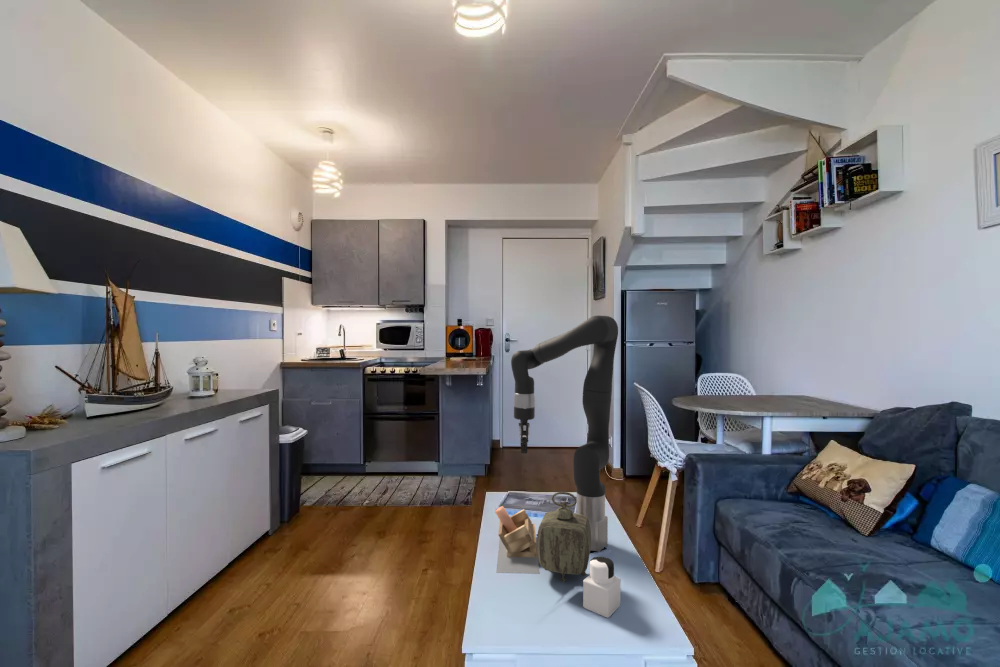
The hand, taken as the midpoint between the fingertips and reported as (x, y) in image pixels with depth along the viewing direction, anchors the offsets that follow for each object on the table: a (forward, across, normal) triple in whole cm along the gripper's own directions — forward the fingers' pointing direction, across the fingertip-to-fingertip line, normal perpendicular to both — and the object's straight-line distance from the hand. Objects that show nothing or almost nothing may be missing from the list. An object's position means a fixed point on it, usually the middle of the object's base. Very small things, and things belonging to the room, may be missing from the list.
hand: (523, 449), depth 168 cm
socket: (+26, +20, -1) cm, 33 cm away
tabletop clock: (+27, +38, +10) cm, 48 cm away
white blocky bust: (+27, +50, +19) cm, 60 cm away
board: (+27, +25, -2) cm, 37 cm away
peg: (+23, +20, -2) cm, 31 cm away
